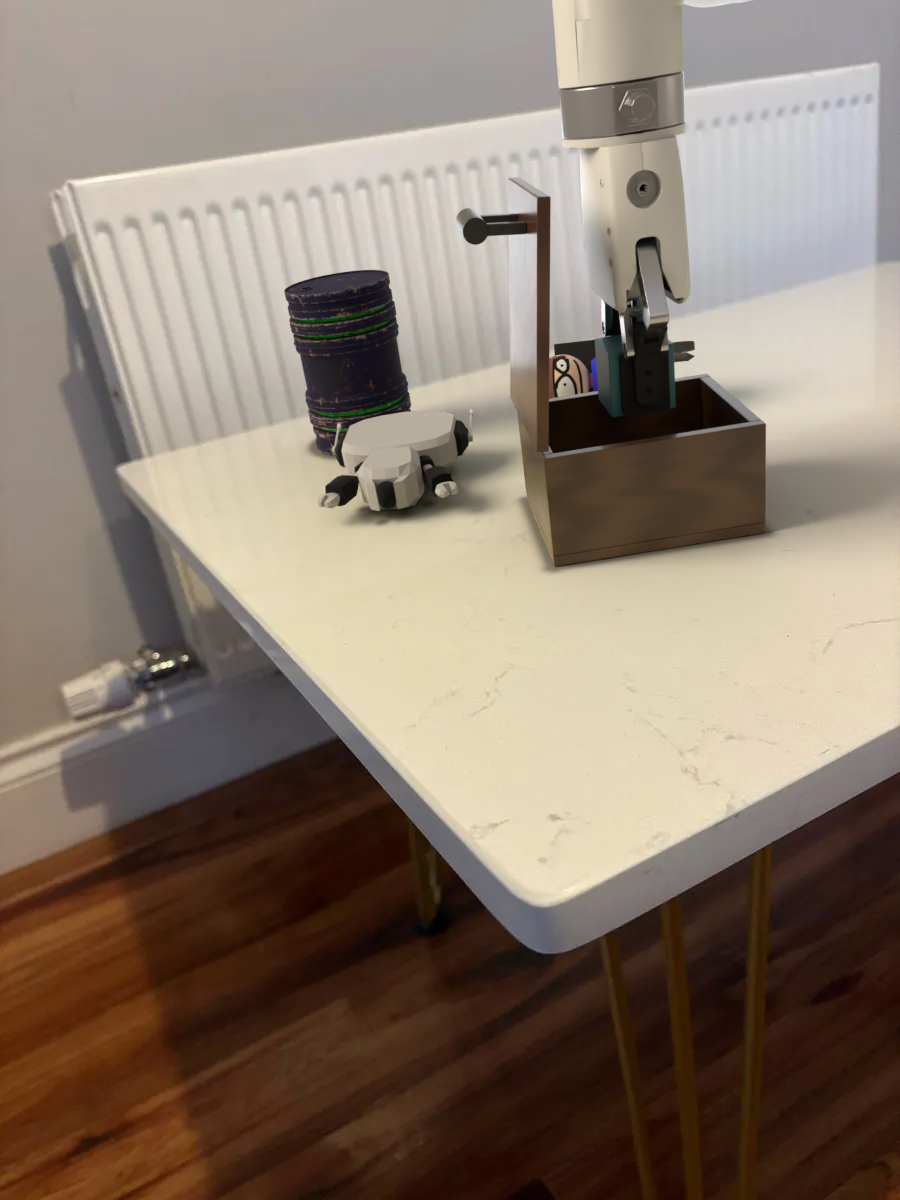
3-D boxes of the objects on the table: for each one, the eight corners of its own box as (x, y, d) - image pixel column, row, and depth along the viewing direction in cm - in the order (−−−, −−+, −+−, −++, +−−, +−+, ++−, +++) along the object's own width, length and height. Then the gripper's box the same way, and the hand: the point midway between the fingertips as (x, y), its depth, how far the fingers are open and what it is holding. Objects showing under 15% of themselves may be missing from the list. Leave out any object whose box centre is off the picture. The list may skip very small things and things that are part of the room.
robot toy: (468, 525, 80) (479, 446, 92) (460, 473, 77) (472, 399, 90) (316, 539, 82) (347, 459, 94) (303, 488, 79) (337, 413, 92)
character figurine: (705, 421, 92) (539, 438, 94) (697, 391, 98) (541, 407, 101) (703, 336, 88) (529, 356, 90) (695, 310, 94) (532, 329, 96)
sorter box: (709, 469, 81) (706, 373, 77) (765, 532, 70) (766, 423, 66) (526, 499, 81) (516, 403, 77) (554, 567, 70) (543, 459, 66)
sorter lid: (519, 177, 70) (449, 180, 70) (550, 196, 59) (467, 200, 59) (520, 397, 77) (457, 401, 77) (548, 452, 66) (474, 456, 66)
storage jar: (400, 414, 105) (376, 264, 98) (428, 440, 97) (403, 278, 90) (306, 436, 103) (274, 285, 96) (326, 464, 95) (292, 301, 88)
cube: (659, 390, 74) (656, 328, 71) (676, 407, 70) (674, 343, 68) (598, 399, 73) (594, 338, 71) (612, 417, 70) (608, 353, 68)
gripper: (726, 109, 56) (728, 430, 64) (647, 102, 71) (658, 363, 79) (589, 129, 56) (610, 449, 64) (540, 118, 70) (562, 378, 79)
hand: (636, 398), depth 71 cm, fingers closed on cube, 4 cm apart
